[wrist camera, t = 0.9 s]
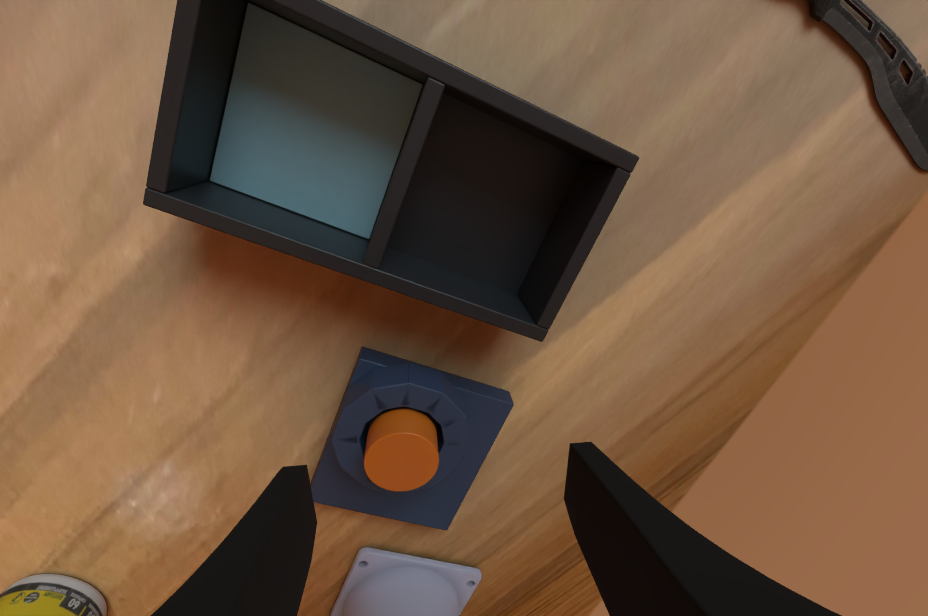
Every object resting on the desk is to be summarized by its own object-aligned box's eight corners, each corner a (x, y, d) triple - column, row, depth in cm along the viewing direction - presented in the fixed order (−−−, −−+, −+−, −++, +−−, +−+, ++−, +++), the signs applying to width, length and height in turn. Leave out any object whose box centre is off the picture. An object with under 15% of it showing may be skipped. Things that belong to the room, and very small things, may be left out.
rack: (520, 305, 22) (542, 342, 18) (196, 187, 18) (141, 204, 14) (596, 150, 19) (640, 157, 16) (239, -23, 16) (187, -67, 12)
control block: (445, 513, 26) (449, 559, 24) (309, 483, 24) (296, 529, 22) (513, 382, 23) (527, 417, 21) (364, 336, 21) (358, 368, 19)
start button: (422, 470, 22) (423, 498, 20) (358, 454, 21) (353, 482, 19) (447, 418, 21) (450, 443, 19) (380, 399, 20) (377, 424, 18)
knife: (930, 179, 22) (981, 121, 21) (941, 181, 21) (993, 121, 20) (699, -16, 17) (751, -102, 16) (706, -19, 17) (761, -107, 16)
